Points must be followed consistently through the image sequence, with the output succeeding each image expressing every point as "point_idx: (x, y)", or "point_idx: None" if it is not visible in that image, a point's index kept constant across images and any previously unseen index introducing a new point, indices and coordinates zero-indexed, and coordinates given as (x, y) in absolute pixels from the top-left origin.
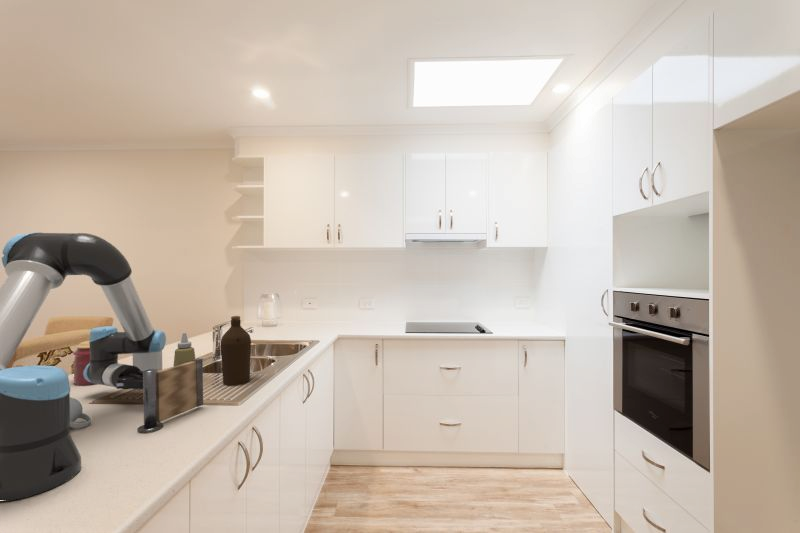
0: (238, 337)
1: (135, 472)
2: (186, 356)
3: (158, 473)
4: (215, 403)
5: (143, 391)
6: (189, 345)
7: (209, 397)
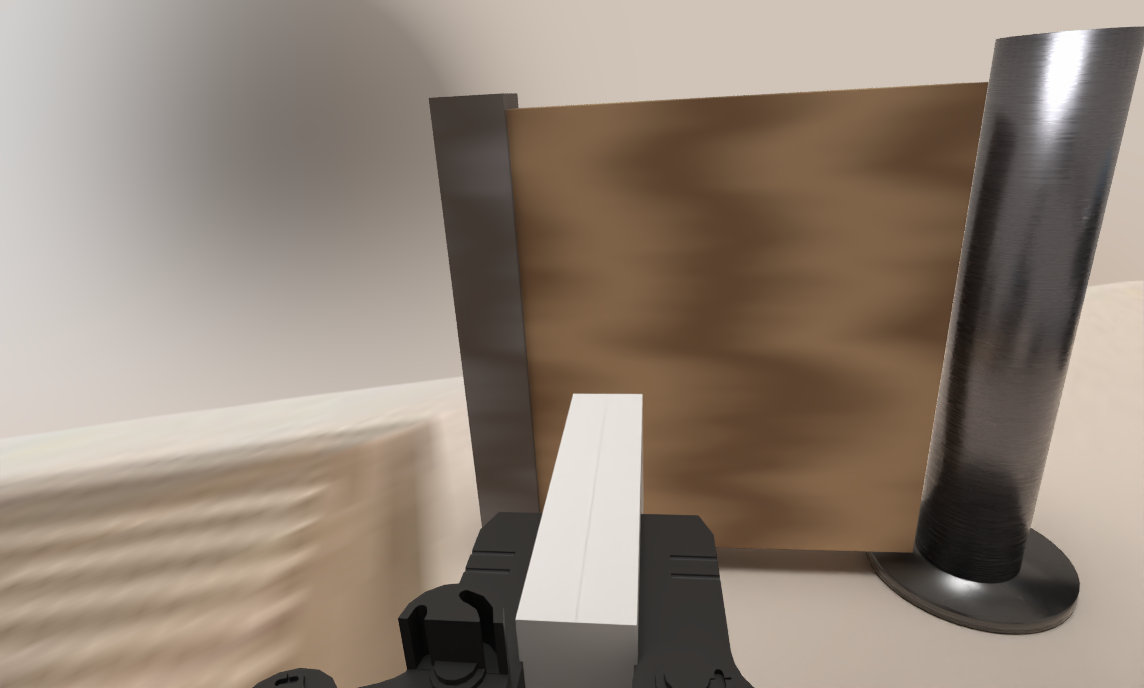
0: None
1: (1116, 354)
2: None
3: None
4: (399, 523)
5: (1092, 253)
6: None
7: (222, 649)
